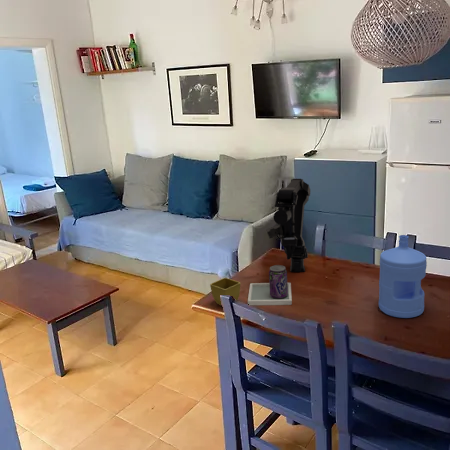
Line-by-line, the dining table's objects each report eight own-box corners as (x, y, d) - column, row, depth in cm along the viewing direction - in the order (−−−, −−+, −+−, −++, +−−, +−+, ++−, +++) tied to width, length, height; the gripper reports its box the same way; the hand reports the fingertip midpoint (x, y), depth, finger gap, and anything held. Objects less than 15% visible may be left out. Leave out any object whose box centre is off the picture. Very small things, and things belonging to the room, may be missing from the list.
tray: (250, 287, 199) (250, 283, 199) (290, 286, 197) (290, 282, 196) (247, 305, 183) (247, 301, 182) (291, 304, 181) (291, 300, 180)
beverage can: (271, 300, 184) (270, 272, 181) (268, 293, 191) (267, 265, 187) (289, 298, 184) (288, 270, 181) (285, 291, 191) (284, 263, 188)
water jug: (369, 307, 175) (370, 235, 167) (398, 295, 182) (401, 227, 174) (403, 323, 161) (406, 247, 153) (433, 310, 169) (438, 236, 161)
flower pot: (226, 297, 191) (225, 277, 189) (242, 303, 185) (241, 282, 183) (211, 305, 186) (209, 284, 183) (226, 311, 179) (225, 289, 177)
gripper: (266, 216, 202) (266, 251, 205) (268, 224, 183) (269, 263, 187) (292, 215, 201) (292, 250, 204) (297, 224, 183) (297, 262, 186)
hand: (287, 256), depth 195 cm, fingers open, 9 cm apart
